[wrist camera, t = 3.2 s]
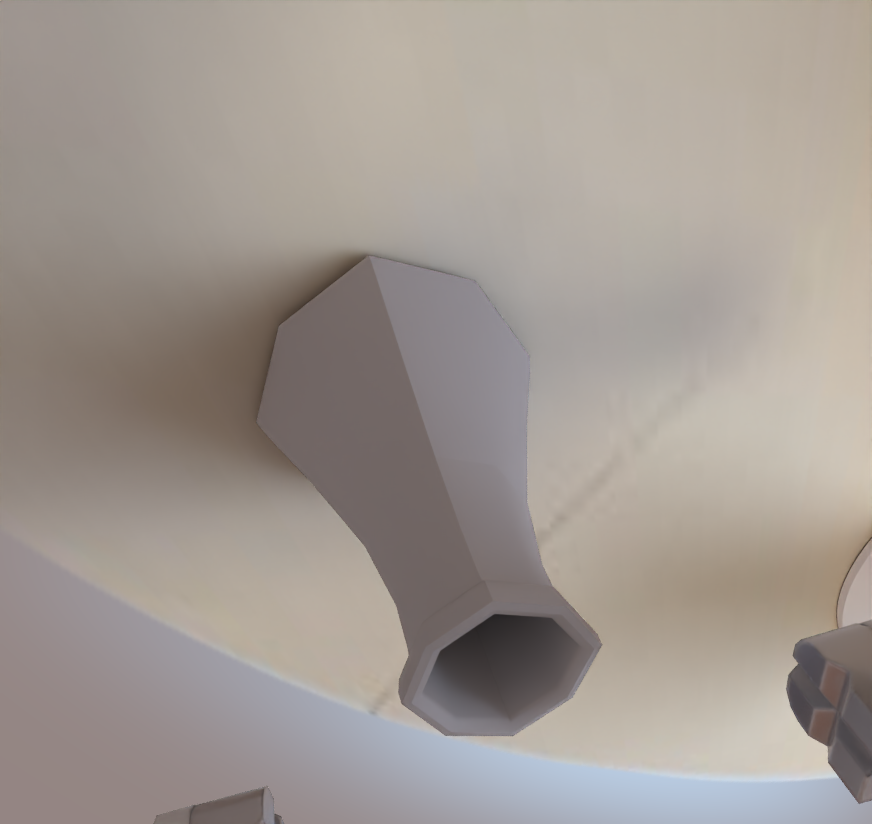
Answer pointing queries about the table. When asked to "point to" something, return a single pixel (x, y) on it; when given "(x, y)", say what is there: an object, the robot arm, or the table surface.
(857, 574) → the panda figurine
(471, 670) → the flask
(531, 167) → the table surface
